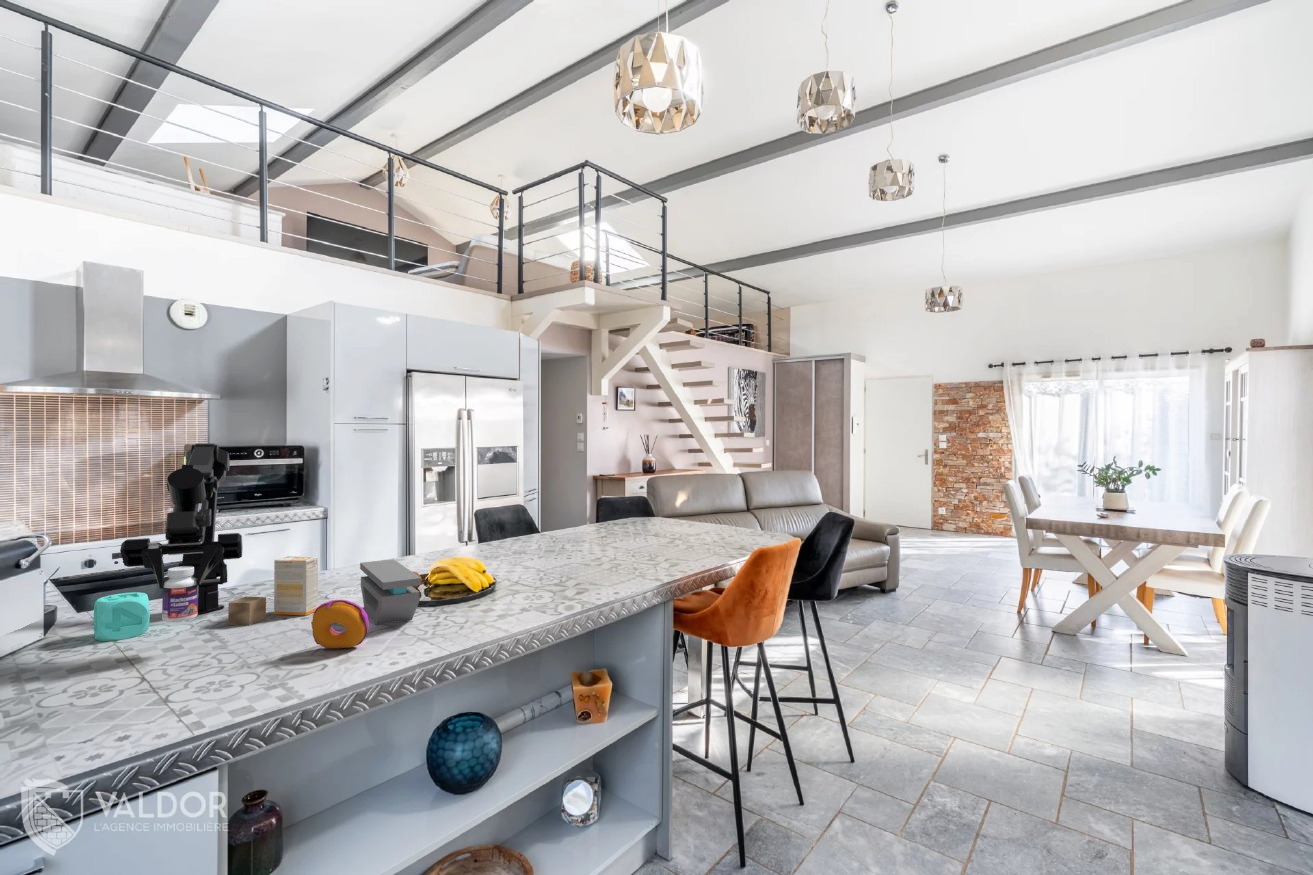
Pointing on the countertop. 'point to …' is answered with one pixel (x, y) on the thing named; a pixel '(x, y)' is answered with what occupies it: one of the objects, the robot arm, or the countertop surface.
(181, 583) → the pill bottle
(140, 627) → the decorative dice
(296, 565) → the supplement box
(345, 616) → the donut
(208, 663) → the countertop surface
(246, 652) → the countertop surface
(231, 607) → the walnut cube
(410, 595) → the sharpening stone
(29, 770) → the countertop surface
